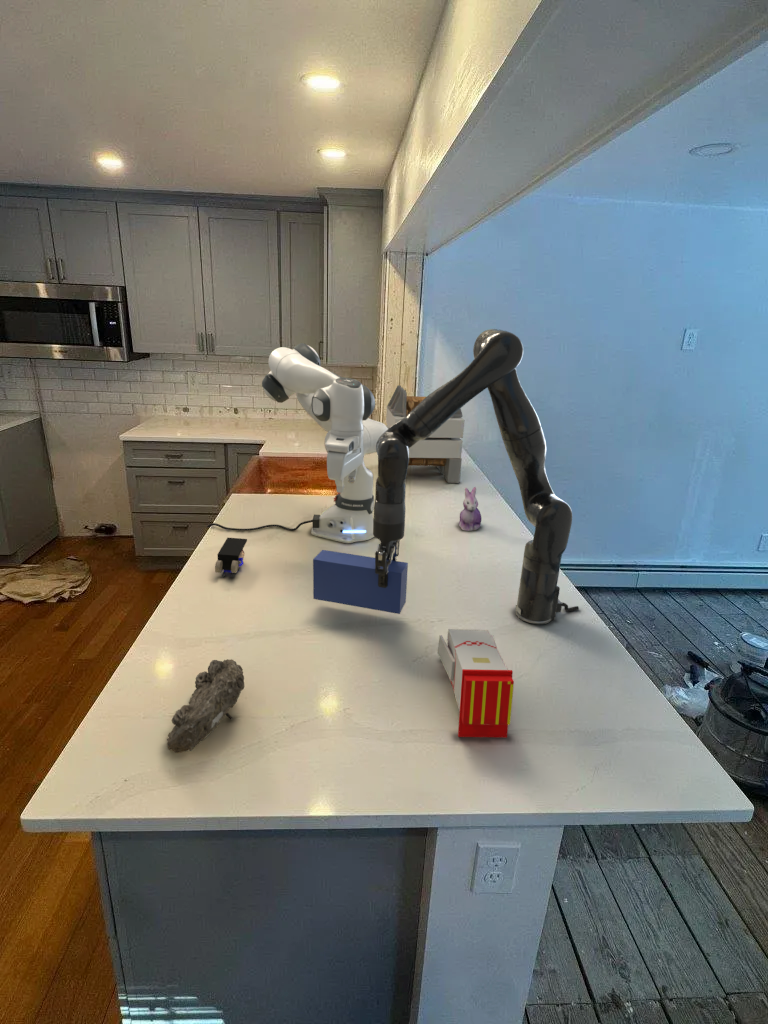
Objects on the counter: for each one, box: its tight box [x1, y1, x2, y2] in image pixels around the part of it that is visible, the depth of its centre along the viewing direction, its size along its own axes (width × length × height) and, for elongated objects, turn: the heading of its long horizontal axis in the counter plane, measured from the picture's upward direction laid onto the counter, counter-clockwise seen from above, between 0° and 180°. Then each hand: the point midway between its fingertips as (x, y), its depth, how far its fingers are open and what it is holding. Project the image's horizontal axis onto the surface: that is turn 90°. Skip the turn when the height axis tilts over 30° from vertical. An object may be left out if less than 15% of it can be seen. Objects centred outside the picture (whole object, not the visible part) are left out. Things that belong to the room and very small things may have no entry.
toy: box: [437, 628, 515, 738], centre depth 117 cm, size 12×13×30 cm
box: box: [312, 549, 409, 615], centre depth 142 cm, size 23×6×11 cm, turn 74°
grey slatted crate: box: [385, 384, 465, 484], centre depth 268 cm, size 34×33×41 cm
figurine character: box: [214, 537, 248, 578], centre depth 166 cm, size 7×8×15 cm
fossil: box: [166, 658, 245, 754], centre depth 106 cm, size 22×10×15 cm
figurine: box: [458, 486, 482, 532], centre depth 206 cm, size 9×10×15 cm
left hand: (346, 487), depth 160 cm, fingers open, 8 cm apart
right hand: (386, 580), depth 140 cm, fingers closed on box, 6 cm apart
